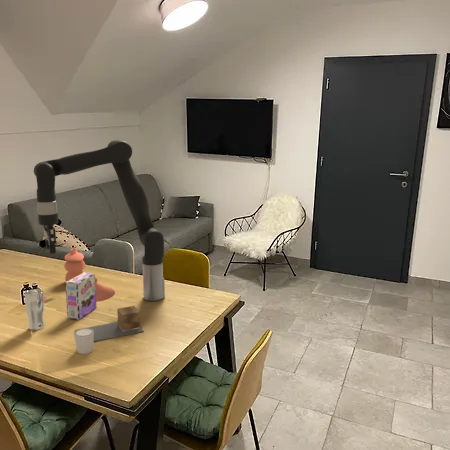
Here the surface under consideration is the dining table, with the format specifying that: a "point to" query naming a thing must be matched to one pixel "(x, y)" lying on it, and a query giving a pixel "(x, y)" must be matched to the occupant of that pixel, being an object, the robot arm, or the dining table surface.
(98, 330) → the placemat
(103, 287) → the ceramic vessels
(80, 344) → the shot glass
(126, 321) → the walnut cube
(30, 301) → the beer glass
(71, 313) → the candy box
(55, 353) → the dining table surface
